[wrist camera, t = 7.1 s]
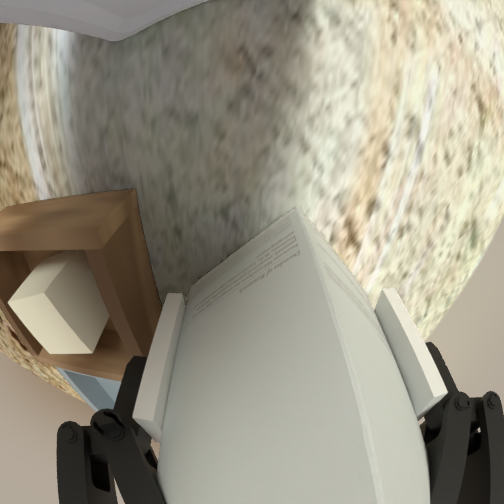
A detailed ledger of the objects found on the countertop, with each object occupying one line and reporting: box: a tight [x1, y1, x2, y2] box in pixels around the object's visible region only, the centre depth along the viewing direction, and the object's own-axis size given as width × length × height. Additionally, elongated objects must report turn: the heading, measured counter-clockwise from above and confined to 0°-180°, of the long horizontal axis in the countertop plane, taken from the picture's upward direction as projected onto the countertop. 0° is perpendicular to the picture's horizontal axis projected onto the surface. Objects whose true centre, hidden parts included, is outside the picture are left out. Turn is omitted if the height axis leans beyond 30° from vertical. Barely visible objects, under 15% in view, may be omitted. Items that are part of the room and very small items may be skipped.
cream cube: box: [8, 250, 110, 354], centre depth 12 cm, size 4×4×4 cm
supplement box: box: [156, 207, 430, 504], centre depth 9 cm, size 7×7×13 cm
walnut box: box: [0, 189, 162, 381], centre depth 12 cm, size 10×10×4 cm
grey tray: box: [56, 367, 121, 412], centre depth 19 cm, size 12×12×3 cm
